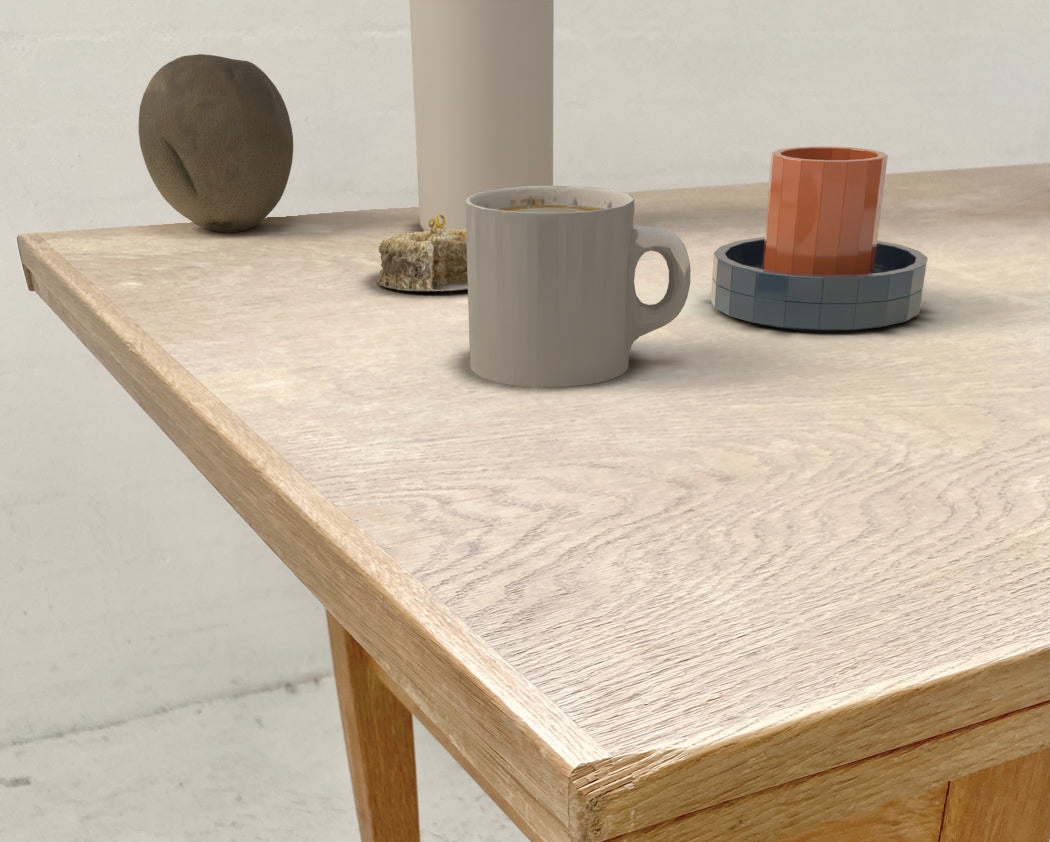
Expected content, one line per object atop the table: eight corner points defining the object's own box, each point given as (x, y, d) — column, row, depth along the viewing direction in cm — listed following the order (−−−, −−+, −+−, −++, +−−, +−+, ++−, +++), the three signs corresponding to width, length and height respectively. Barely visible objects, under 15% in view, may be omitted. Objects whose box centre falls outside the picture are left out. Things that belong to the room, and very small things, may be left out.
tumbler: (889, 311, 90) (909, 157, 85) (791, 320, 88) (806, 163, 83) (834, 288, 96) (849, 144, 91) (742, 296, 94) (753, 149, 89)
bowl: (960, 327, 88) (970, 267, 86) (769, 346, 85) (774, 284, 83) (851, 283, 100) (857, 230, 98) (679, 298, 97) (681, 243, 95)
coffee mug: (455, 387, 77) (448, 211, 72) (486, 344, 86) (483, 184, 81) (679, 396, 75) (689, 216, 70) (689, 352, 84) (698, 188, 79)
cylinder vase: (399, 238, 118) (381, -81, 105) (448, 216, 128) (438, -78, 116) (528, 246, 114) (527, -83, 102) (569, 222, 125) (571, -80, 112)
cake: (351, 292, 102) (343, 220, 99) (445, 274, 108) (440, 206, 105) (434, 302, 95) (428, 224, 93) (529, 282, 101) (526, 209, 99)
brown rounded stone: (327, 233, 121) (312, 54, 113) (181, 250, 114) (155, 61, 107) (269, 212, 131) (252, 47, 124) (132, 226, 125) (105, 53, 117)
